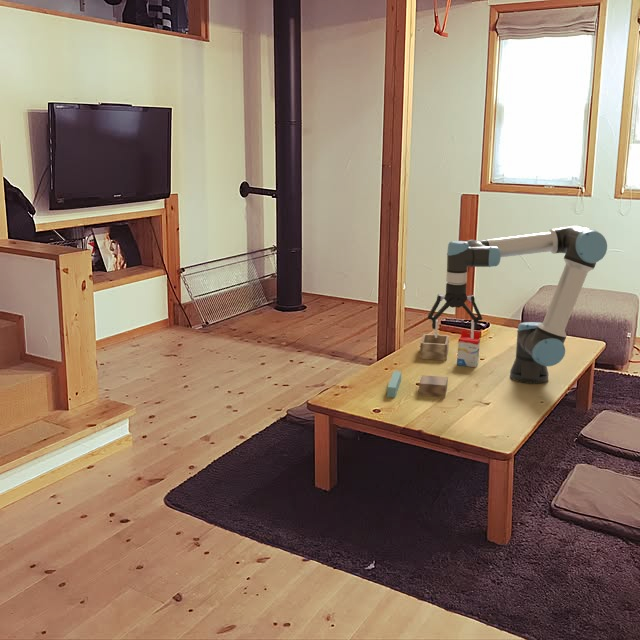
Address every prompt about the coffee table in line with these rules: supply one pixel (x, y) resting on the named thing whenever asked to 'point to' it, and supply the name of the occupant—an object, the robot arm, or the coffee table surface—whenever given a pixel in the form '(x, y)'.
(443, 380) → the block
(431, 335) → the box
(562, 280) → the robot arm
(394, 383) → the teal long rectangular bar
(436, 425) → the coffee table surface
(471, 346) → the ink box
